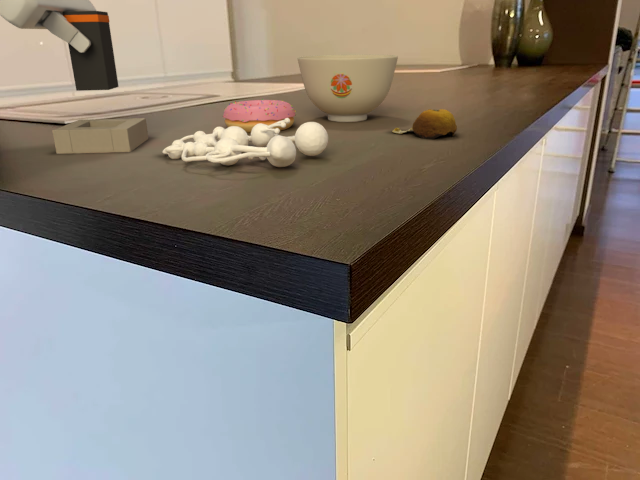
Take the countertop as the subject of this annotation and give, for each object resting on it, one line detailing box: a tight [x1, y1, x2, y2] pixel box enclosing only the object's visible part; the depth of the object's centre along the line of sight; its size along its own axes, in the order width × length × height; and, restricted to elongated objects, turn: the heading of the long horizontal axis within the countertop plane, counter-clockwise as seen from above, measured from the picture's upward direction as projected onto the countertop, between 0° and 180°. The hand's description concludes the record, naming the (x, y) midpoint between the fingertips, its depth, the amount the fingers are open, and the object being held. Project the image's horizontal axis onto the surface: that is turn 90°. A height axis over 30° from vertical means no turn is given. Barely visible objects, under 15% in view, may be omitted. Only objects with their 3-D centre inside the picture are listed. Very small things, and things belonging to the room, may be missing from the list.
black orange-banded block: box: [63, 10, 119, 92], centre depth 66 cm, size 4×4×9 cm
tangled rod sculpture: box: [161, 118, 329, 168], centre depth 61 cm, size 19×14×4 cm
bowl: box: [297, 54, 399, 123], centre depth 88 cm, size 16×16×10 cm
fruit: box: [391, 108, 458, 140], centre depth 74 cm, size 8×8×4 cm
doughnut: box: [222, 98, 297, 134], centre depth 81 cm, size 11×11×4 cm
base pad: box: [52, 117, 149, 155], centre depth 70 cm, size 9×9×3 cm
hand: (96, 48), depth 66 cm, fingers closed on black orange-banded block, 4 cm apart
